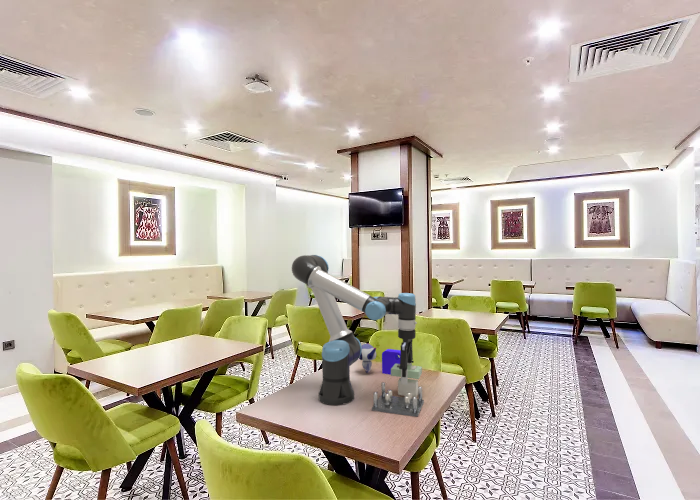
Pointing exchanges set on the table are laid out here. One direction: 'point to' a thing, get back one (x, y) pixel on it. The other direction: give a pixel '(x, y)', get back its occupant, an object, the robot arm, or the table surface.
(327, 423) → the table surface
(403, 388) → the block
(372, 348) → the toy
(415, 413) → the chassis
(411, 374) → the board
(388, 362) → the bracket
